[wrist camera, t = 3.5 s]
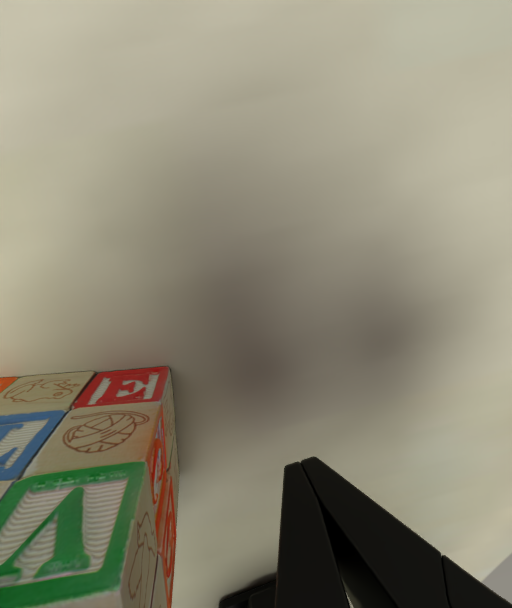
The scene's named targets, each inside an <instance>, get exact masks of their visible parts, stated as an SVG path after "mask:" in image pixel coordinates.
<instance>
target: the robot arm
mask: <svg viewBox="0 0 512 608" xmlns="http://www.w3.org/2000/svg"><path fill="white" fill-rule="evenodd" d="M345 590H346V591H345ZM346 592H347V594H348V597H349V599H350V601H351V603H352V605H353V607H354V608H512V604H511V603H509V602H508V601H506V600H505V599H503V598H502V597H501V596H499V595H497V594H496V593H495V592H493V591H492V590H490V589H489V588H488V587H486V586H485V585H484V584H482V583H481V582H480V581H478V580H477V579H476V578H474V577H473V576H472V575H470V574H469V573H467V572H466V571H465V570H463V569H462V568H461V567H459V566H458V565H457V564H456V563H454V562H453V561H452V560H450V559H449V558H448V557H447V556H445V555H442V556H441V553H440V551H438V550H437V549H436V548H435V547H433V546H432V545H431V544H429V543H428V542H427V541H425V540H424V539H423V538H421V537H420V536H419V535H418V534H416V533H415V532H414V531H412V530H411V529H410V528H408V527H407V526H406V525H404V524H403V523H402V522H401V521H399V520H398V519H397V518H395V517H394V516H393V515H391V514H390V513H389V512H387V511H386V510H385V509H384V508H382V507H381V506H380V505H378V504H377V503H376V502H374V501H373V500H372V499H370V498H369V497H368V496H367V495H365V494H364V493H363V492H361V491H360V490H359V489H357V488H356V487H355V486H354V485H352V484H351V483H350V482H348V481H347V480H346V479H344V478H343V477H342V476H340V475H339V474H338V473H337V472H335V471H334V470H333V469H331V468H330V467H329V466H327V465H326V464H325V463H323V462H322V461H321V460H320V459H318V458H317V457H314V456H313V457H310V458H307V459H304V460H302V461H301V463H299V462H295V463H292V464H289V465H286V466H285V468H284V478H283V493H282V508H281V522H280V537H279V552H278V566H277V580H275V581H273V582H270V583H268V584H265V585H262V586H260V587H257V588H255V589H252V590H249V591H247V592H244V593H242V594H239V595H236V596H234V597H231V598H229V599H226V600H224V601H222V602H221V603H220V604H219V606H218V608H350V605H349V602H348V598H347V595H346Z"/></svg>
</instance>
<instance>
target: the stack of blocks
mask: <svg viewBox="0 0 512 608" xmlns="http://www.w3.org/2000/svg"><path fill="white" fill-rule="evenodd" d="M178 493H179V466H178V454H177V442H176V431H175V412H174V399H173V389H172V380H171V374H170V369H169V367H155V368H144V369H133V370H123V371H113V372H101V373H99V374H96V373H95V372H93V371H86V372H74V373H60V374H48V375H35V376H26V377H22V378H17V377H7V378H0V608H171V604H172V591H173V577H174V564H175V548H176V526H177V509H178Z"/></svg>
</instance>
